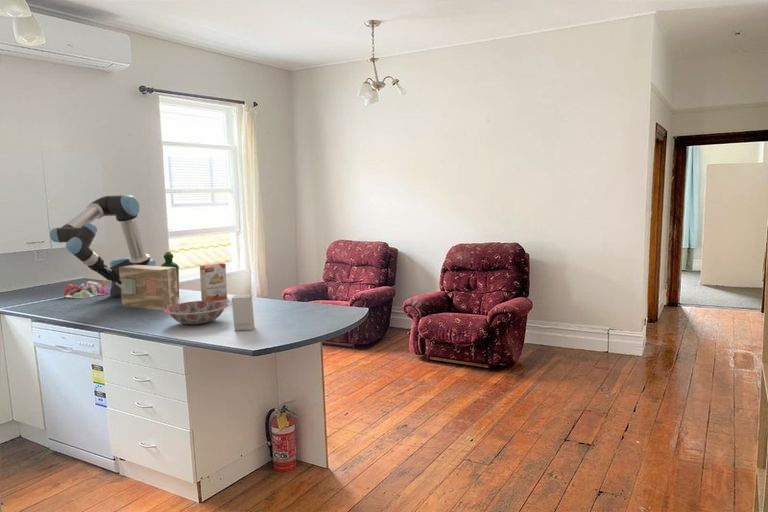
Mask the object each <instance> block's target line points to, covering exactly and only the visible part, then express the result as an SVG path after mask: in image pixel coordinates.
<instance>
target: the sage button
mask: <svg viewBox="0 0 768 512" xmlns="http://www.w3.org/2000/svg"><path fill="white" fill-rule="evenodd" d="M121 281H122V282H123V283H124V284H125V285H126V286H125V287H124V289H122V293H125V294H135V293H136V281H135V279H130V278H124V279H121Z"/></svg>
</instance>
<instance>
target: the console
mask: <svg viewBox="0 0 768 512" xmlns="http://www.w3.org/2000/svg"><path fill="white" fill-rule="evenodd" d="M119 275H120V280H121V279H124V278H130V279H135V281H136V293H135V294H125V293H122V289H121V297H120V299H121V306H123V307H130V308H140V309H148V310H157V311H165V309H166V308H167V307H169V306H172V305H175V304H180V303H179V297H178V288H177V275H176V267H162V266H161V265H159V266H158V265H156V266H146V265H129V266H123V267H119ZM147 279H148V280H156V289H157V295H149V294H146V281H145V280H147Z"/></svg>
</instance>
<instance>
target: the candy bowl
mask: <svg viewBox="0 0 768 512" xmlns="http://www.w3.org/2000/svg"><path fill="white" fill-rule="evenodd" d="M110 283H111V281H108V282H107V279H102V280H101V283H99V282H95V281H86V282H85V283H81V284H80V285H79V286H78V284H74V285H73V284H71V283H69V284H67V285H66V286H65V289H64V290H63V297H71V298H83V299H88V298H87V297H91V298H94V297H93V296H95V297H98V296H97V295H102V296H105V295H108V294H110V286H111V285H110ZM69 292H70V293H69ZM107 293H108V294H107Z"/></svg>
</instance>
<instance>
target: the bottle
mask: <svg viewBox="0 0 768 512" xmlns="http://www.w3.org/2000/svg"><path fill="white" fill-rule="evenodd" d="M173 258H174V255H173V253H172V251H170V250H168V251H165V253H164V254H163V259H164V262H163V263H162V264H161V265H160V266H162V267H176V275H177V288H178V298H180V272H179V271H180V270H179V269H180V268H179V264H177V263H176V262H174V261H173Z"/></svg>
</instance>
